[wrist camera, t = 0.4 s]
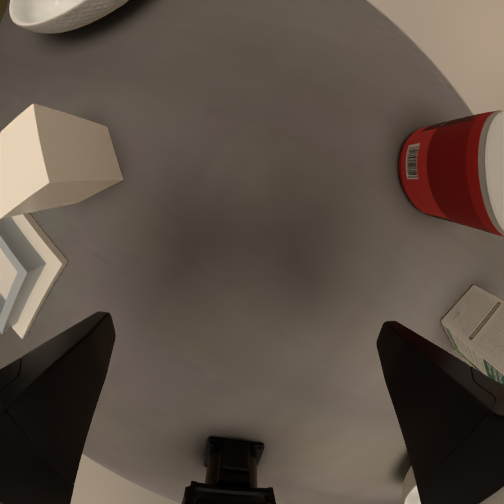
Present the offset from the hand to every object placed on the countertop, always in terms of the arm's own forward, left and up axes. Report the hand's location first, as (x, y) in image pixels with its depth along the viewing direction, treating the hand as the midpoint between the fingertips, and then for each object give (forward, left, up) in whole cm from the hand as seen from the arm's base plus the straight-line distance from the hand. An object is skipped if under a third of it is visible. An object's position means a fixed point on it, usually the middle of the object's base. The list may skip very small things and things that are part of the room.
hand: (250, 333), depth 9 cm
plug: (+4, +14, -15) cm, 21 cm away
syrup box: (-4, -25, -15) cm, 29 cm away
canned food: (+9, -15, -15) cm, 23 cm away
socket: (-6, +25, -15) cm, 30 cm away
